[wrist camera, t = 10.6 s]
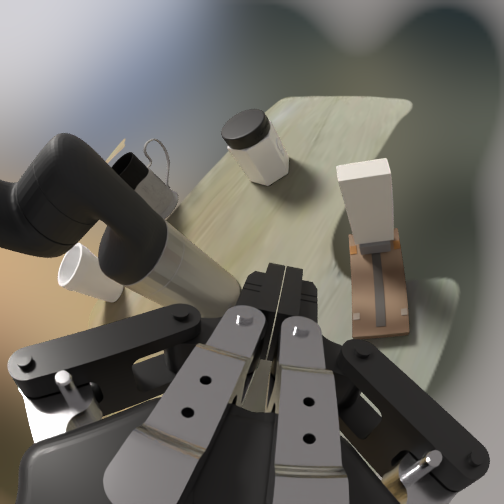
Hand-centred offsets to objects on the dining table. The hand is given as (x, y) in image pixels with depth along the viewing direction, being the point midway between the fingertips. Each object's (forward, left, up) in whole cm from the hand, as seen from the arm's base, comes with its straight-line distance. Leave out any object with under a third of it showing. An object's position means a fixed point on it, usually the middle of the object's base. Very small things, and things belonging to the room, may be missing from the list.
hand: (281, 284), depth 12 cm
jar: (-33, +14, -25) cm, 44 cm away
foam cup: (-41, -27, -25) cm, 55 cm away
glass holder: (-50, -4, -25) cm, 56 cm away
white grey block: (-7, +13, -22) cm, 27 cm away
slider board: (-3, +9, -25) cm, 27 cm away
